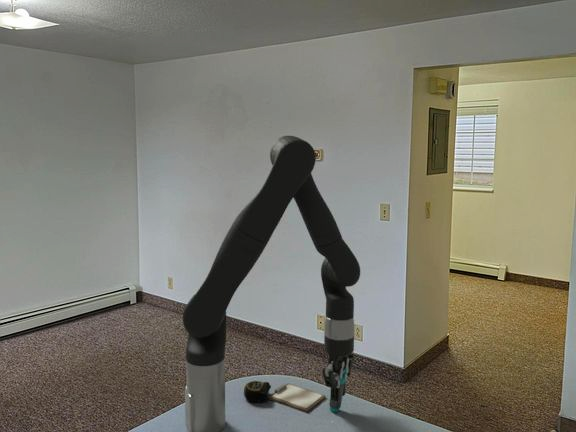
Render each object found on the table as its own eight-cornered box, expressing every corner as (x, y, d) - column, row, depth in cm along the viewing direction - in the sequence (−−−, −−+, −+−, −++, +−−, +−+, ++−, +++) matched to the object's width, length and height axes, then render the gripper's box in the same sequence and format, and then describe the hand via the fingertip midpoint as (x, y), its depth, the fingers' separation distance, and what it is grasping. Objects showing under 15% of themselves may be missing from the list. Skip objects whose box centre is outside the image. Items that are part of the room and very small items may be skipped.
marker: (330, 413, 127) (335, 381, 125) (326, 406, 130) (331, 374, 128) (342, 412, 128) (347, 380, 126) (337, 405, 131) (342, 374, 129)
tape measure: (266, 405, 131) (266, 392, 131) (241, 403, 132) (241, 390, 132) (271, 393, 138) (271, 380, 137) (247, 391, 139) (247, 378, 138)
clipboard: (268, 399, 134) (268, 393, 134) (288, 385, 142) (288, 380, 142) (307, 412, 128) (307, 406, 127) (325, 397, 135) (325, 392, 135)
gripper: (340, 345, 118) (338, 413, 120) (364, 327, 129) (362, 390, 132) (312, 338, 122) (311, 404, 124) (338, 322, 133) (337, 383, 136)
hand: (338, 397), depth 128 cm, fingers closed on marker, 3 cm apart
